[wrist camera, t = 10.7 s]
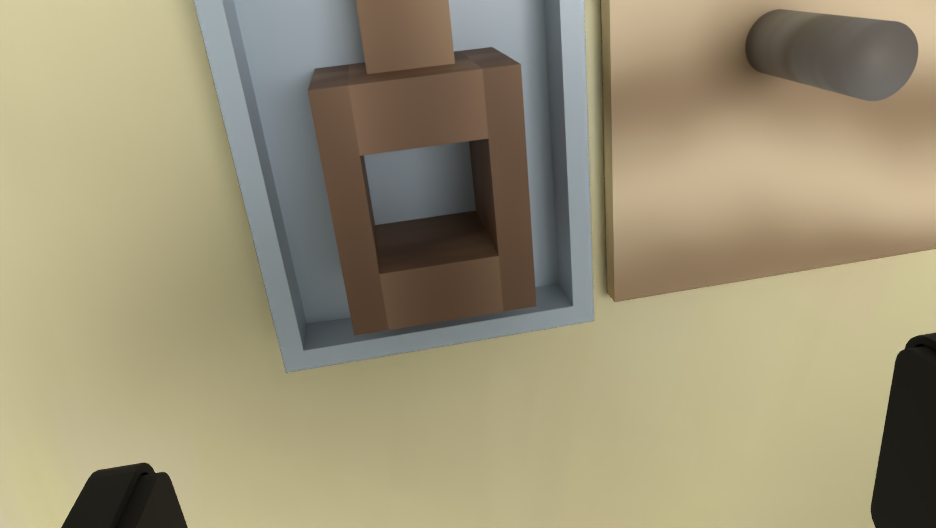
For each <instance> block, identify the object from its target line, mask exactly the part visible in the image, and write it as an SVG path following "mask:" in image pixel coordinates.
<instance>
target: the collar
mask: <svg viewBox="0 0 936 528" xmlns="http://www.w3.org/2000/svg"><path fill="white" fill-rule="evenodd" d="M356 6H357V12H358V19H359V25H360V32H361V38H362V45H363V51H364V58H365V62H364V63H356V64H348V65H339V66H331V67H323V68H315V71H314V74H313V77H312V80H311V82H310V85H309V88H308V95H309V101H310V106H311V111H312V116H313V122H314V127H315V132H316V137H317V143H318V148H319V153H320V158H321V164H322V169H323V174H324V179H325V185H326V190H327V195H328V200H329V206H330V211H331V216H332V221H333V227H334V232H335V237H336V242H337V248H338V253H339V258H340V263H341V269H342V274H343V279H344V285H345V290H346V295H347V300H348V306H349V311H350V316H351V321H352V327H353V332H354V336H355V335H362V334H368V333H374V332H380V331H386V330H393V329H399V328H405V327H411V326H418V325H424V324H430V323H436V322H442V321H449V320H455V319H461V318H467V317H474V316H480V315H486V314H492V313H498V312H505V311H511V310H517V309H523V308H530V307H536V306H537V305H536V290H535V274H534V259H533V243H532V227H531V212H530V196H529V181H528V165H527V150H526V134H525V119H524V103H523V88H522V72H521V64H520V63H518V62H517V61H515V60H513V59H512V58H510V57H508V56H507V55H505V54H503V53H502V52H500V51H498V50H497V49H495V48H493V47H487V48H479V49H471V50H463V51H454V49H453V39H452V29H451V19H450V9H449V0H356ZM466 141H469V146H470V156H471V166H472V176H473V186H474V196H475V207H476V211H469V212H462V213H455V214H448V215H441V216H435V217H428V218H421V219H414V220H407V221H400V222H393V223H386V224H379V225H375V221H374V215H373V209H372V203H371V197H370V191H369V185H368V179H367V172H366V166H365V160H364V155H370V154H378V153H385V152H392V151H400V150H407V149H415V148H422V147H429V146H437V145H444V144H452V143H459V142H466Z"/></svg>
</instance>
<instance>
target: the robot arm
mask: <svg viewBox="0 0 936 528" xmlns="http://www.w3.org/2000/svg"><path fill="white" fill-rule="evenodd" d="M871 515H872V519H873V522H874V525H875V527H876V528H936V333H931V334H925V335H919V336H916V337H913V338H911V339H910V340H909V341H908V343H907V344H906V347H905V350H902V351H900V353H899V354H898V355H897V358H896V361H895V367H894V373H893V379H892V385H891V390H890V396H889V402H888V408H887V414H886V420H885V426H884V432H883V438H882V444H881V450H880V455H879V461H878V467H877V473H876V479H875V485H874V491H873V497H872V503H871ZM61 528H188V527H187V524H186V522H185V519H184V516H183V513H182V510H181V507H180V504H179V502H178V499H177V496H176V493H175V490H174V487H173V484H172V482H171V479H170V477H169V476H168V474H167V473H165V472H160V473H155V472H154V470H153V468H152V467H151V466H150V465H149V464H147V463H139V464H133V465H127V466H121V467H114V468H108V469H102V470H98V471H96V472H94V473H92V475H91V476H90V477H89V479H88V480H87V482H86V484H85V486H84V488H83V489H82V491H81V493H80V495H79V497H78V498H77V500H76V502H75V504H74V506H73V507H72V509H71V511H70V513H69V515H68V516H67V518H66V520H65V522H64V524H63V525H62V527H61Z"/></svg>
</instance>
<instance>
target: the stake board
mask: <svg viewBox="0 0 936 528" xmlns="http://www.w3.org/2000/svg"><path fill="white" fill-rule="evenodd" d="M601 19H602V66H603V113H604V160H605V207H606V253H607V293H608V294H609V295H610V297H611V298H612V299H613V300H614V302H618V301H624V300H630V299H636V298H642V297H648V296H654V295H660V294H666V293H672V292H678V291H684V290H690V289H696V288H702V287H708V286H714V285H720V284H726V283H732V282H738V281H744V280H750V279H756V278H762V277H768V276H774V275H780V274H787V273H793V272H799V271H805V270H811V269H817V268H823V267H829V266H835V265H841V264H847V263H853V262H859V261H865V260H871V259H877V258H883V257H889V256H895V255H901V254H907V253H913V252H919V251H925V250H931V249H936V0H601Z"/></svg>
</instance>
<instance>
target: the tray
mask: <svg viewBox="0 0 936 528" xmlns="http://www.w3.org/2000/svg"><path fill="white" fill-rule="evenodd" d="M194 3H195V7H196V11H197V15H198V19H199V23H200V27H201V31H202V35H203V39H204V44H205V48H206V52H207V56H208V60H209V64H210V68H211V72H212V76H213V80H214V84H215V88H216V92H217V96H218V100H219V104H220V108H221V112H222V116H223V120H224V124H225V128H226V132H227V136H228V140H229V144H230V148H231V152H232V156H233V160H234V164H235V168H236V173H237V177H238V181H239V185H240V189H241V193H242V197H243V201H244V205H245V209H246V213H247V217H248V221H249V225H250V229H251V233H252V237H253V241H254V245H255V249H256V253H257V257H258V261H259V265H260V269H261V273H262V277H263V281H264V285H265V289H266V293H267V297H268V302H269V306H270V310H271V314H272V318H273V322H274V326H275V330H276V334H277V338H278V342H279V346H280V350H281V354H282V358H283V362H284V366H285V370H286V373H288V372H294V371H300V370H306V369H311V368H317V367H323V366H329V365H335V364H341V363H347V362H353V361H359V360H365V359H371V358H377V357H383V356H389V355H395V354H401V353H407V352H413V351H419V350H425V349H431V348H436V347H442V346H448V345H454V344H460V343H466V342H472V341H478V340H484V339H490V338H496V337H502V336H508V335H514V334H520V333H526V332H532V331H538V330H544V329H550V328H556V327H562V326H567V325H573V324H579V323H585V322H591V321H594V307H593V274H592V242H591V209H590V177H589V145H588V112H587V80H586V47H585V15H584V0H449V9H450V19H451V29H452V39H453V49H454V51H463V50H471V49H479V48H487V47H493V48H495V49H497V50H498V51H500V52H502V53H503V54H505V55H507V56H508V57H510V58H512V59H513V60H515V61H517V62H518V63H520V64H521V72H522V88H523V103H524V119H525V134H526V150H527V165H528V181H529V196H530V212H531V227H532V243H533V259H534V274H535V290H536V305H537V306H536V307H530V308H523V309H517V310H511V311H505V312H498V313H492V314H486V315H480V316H474V317H467V318H461V319H455V320H449V321H442V322H436V323H430V324H424V325H418V326H411V327H405V328H399V329H393V330H386V331H380V332H374V333H368V334H362V335H355V336H354V332H353V327H352V321H351V316H350V311H349V306H348V300H347V295H346V290H345V285H344V279H343V274H342V269H341V263H340V258H339V253H338V248H337V242H336V237H335V232H334V227H333V221H332V216H331V211H330V206H329V200H328V195H327V190H326V185H325V179H324V174H323V169H322V164H321V158H320V153H319V148H318V143H317V137H316V132H315V127H314V122H313V116H312V111H311V106H310V101H309V95H308V88H309V85H310V82H311V80H312V77H313V74H314V71H315V68H323V67H331V66H339V65H348V64H356V63H364V62H365V58H364V51H363V45H362V38H361V32H360V25H359V19H358V12H357V6H356V0H194ZM364 160H365V166H366V172H367V179H368V185H369V191H370V197H371V203H372V209H373V215H374V221H375V225H379V224H386V223H393V222H400V221H407V220H414V219H421V218H428V217H435V216H441V215H448V214H455V213H462V212H469V211H476V207H475V196H474V186H473V176H472V166H471V156H470V146H469V141H466V142H459V143H452V144H444V145H437V146H429V147H422V148H415V149H407V150H400V151H392V152H385V153H378V154H370V155H364Z"/></svg>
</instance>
